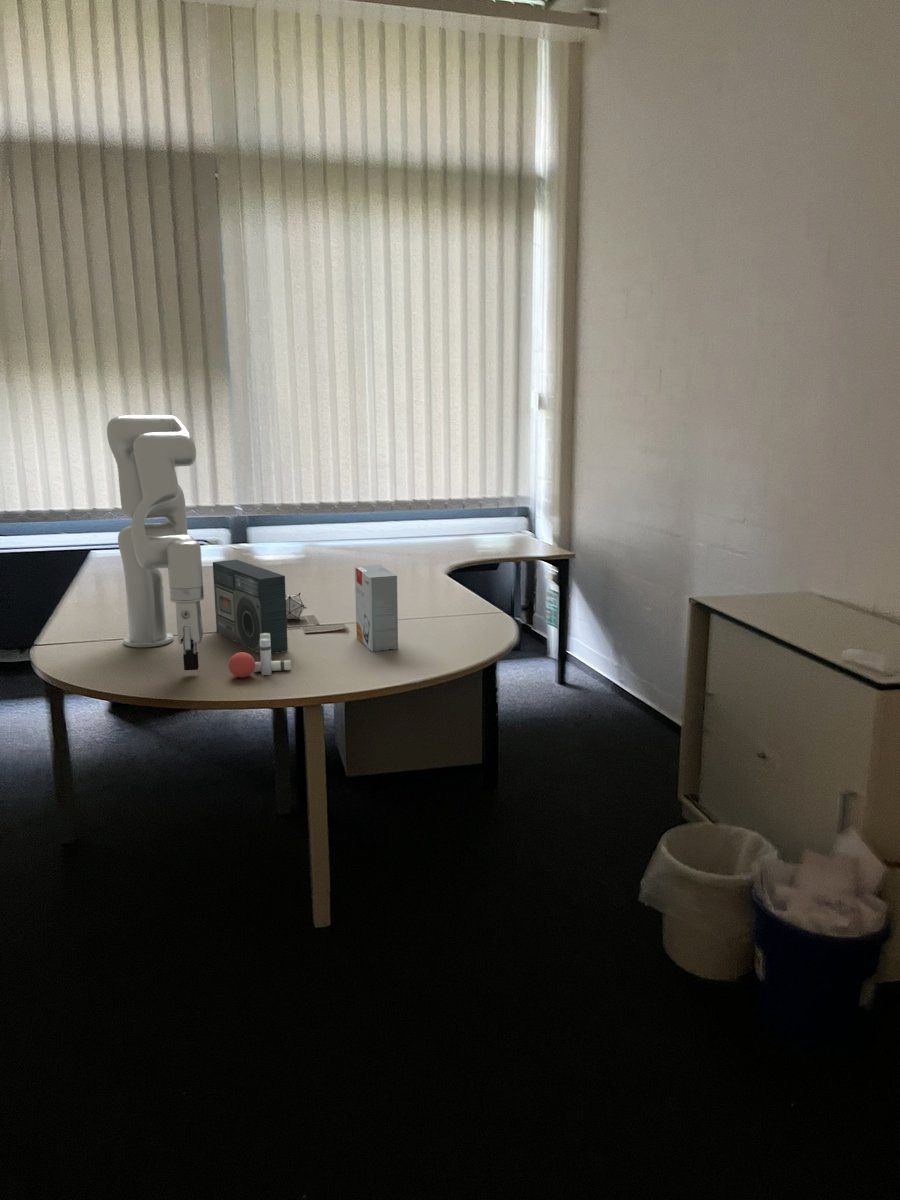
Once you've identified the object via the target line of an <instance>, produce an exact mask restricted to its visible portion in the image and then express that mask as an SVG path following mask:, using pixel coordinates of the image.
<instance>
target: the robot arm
mask: <svg viewBox="0 0 900 1200" xmlns="http://www.w3.org/2000/svg"><path fill="white" fill-rule="evenodd" d="M106 437H107V441H108V445H109V448H110V451H111V453H112V455H113V457H114V460H115V462H116V466H117V477H118V486H119V497H120V498H119V499H120V505H121V511H122V513H123V515H124V516H125V517H126V518H127V519H131V523H130V524H131V525H128V526H126V527H123V528H122V529H121V530H120V531H119V533H118V536H117V546H118V549H119V552H120V557H121V562H122V566H123V567H122V568H123V573H124V586H125V596H126V608H127V609H126V610H127V621H128V622H127V623H128V636H126V637H124V638H123V644H124V645H125V646H127V647H130V648H142V649H143V648H153V647H155V648H156V647H160V646H164V645H167V644H170V643H171V642H173V641H174V635H173V633H171V632H167V631H168V630H167V618H166V617H167V616H166V614H167V613H166V605H165V603H166V602H165V590H164V589H165V587H164V578H163V575H162V573H161V571H160V569H167V573H168V574H167V576H168V586H169V601H170V602H171V603H175V616H176V629H177V639H178V640H177V641H178V643H179V645H182V648H183V649H182V650H183V654H182V655H183V669H184V671H198V670H199V667H200V665H199V664H200V663H199V652H198V644H200V643H201V642H202V639H203V636H204V630H203V629H204V628H203V620H202V607H201V601H204V599H205V597H204V596H205V595H204V583H203V582H204V581H203V566H202V562H203V561H202V550H201V549H202V548H201V544H200V542H199V541H198V540H195V538H194V537H193V536H191V535H190V534H189V533H188V523H187V521H188V520H187V508H186V498H185V494H184V492H183V488H182V487H181V485H179V482H178V478H177V473H176V468H175V467H177V468H178V467H189V466H192V465H194V463H195V461H196V458H197V449H196V445H195V441H194V439H193V436H192V435H191V433H190V432H189V430H188V429H187V428H186V427H185V425H184V423H182V421H181V420H180V419H179V418H177V416H175V415H169V414H130V415H129V414H128V415H120V416H115V417H113V418H111V419H110V420H109V421H108V423H107V425H106ZM163 518H164V519H165V521H166V522H156V523H153V522H152V523H151V522H150V523H146V520H151V519H163Z"/></svg>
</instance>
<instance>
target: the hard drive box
mask: <svg viewBox="0 0 900 1200" xmlns="http://www.w3.org/2000/svg"><path fill="white" fill-rule="evenodd" d="M354 582H355V583H354V586H355V588H354V590H355V591H354V592H355V593H354V594H355V625H356V626H355V627H356V629H355V631H356V637H357V638H358V640H359V641H360V642H361V643H362V644H363V645H364V646H365V647H366V648H367V649H368V648H369V649H368V650H369V651H370V650H371V651H375V652H381V651H380V650H384V651H390V650H389V649H393V650H398V649H399V632H398V631H399V628H398V627H399V626H398V625H399V624H398V623H399V622H398V619H399V617H398V616H399V615H398V576H397V574H395V573H394V572H392V571H390V570H389V569H388V568H386V567H384V566H382V565H381V564H371V565H357V566H354ZM371 651H370V652H371Z"/></svg>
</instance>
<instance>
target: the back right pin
mask: <svg viewBox="0 0 900 1200" xmlns="http://www.w3.org/2000/svg"><path fill="white" fill-rule="evenodd" d="M271 661H272V654H271V645H270V639H268V638H264V639H260V662H261V673H260V674H261V676H264V675H269V676H271V675H272V674H273V673H272V672H273V671H271Z"/></svg>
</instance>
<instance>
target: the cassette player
mask: <svg viewBox="0 0 900 1200" xmlns="http://www.w3.org/2000/svg"><path fill="white" fill-rule="evenodd" d="M212 573H213V574H212V575H213V576H212V577H213V591H214V593H213V594H214V606H215V608H214V609H215V610H214V611H215V626H216V633H217V634H220V635H222V636H223V637H226V638H227V637H228V638H227V639H229V638H230V640H231V639H232V641H233V640H235V641H237V642H239V643H241V644H243V645H245V646H247V647H249V648H251V649H253V650H254V651H253V650H252V651H253V652H255V651H257V652H258V653H257V652H256V653H257V654H259V653H260V634H262V633H270V640H271V655H273V654H272V653H274V654H277V653H276V652H280V653H283V652H282V651H285V652H288V651H287V650H289V647H288V646H289V645H288V644H289V642H288V623H287V620H288V619H287V618H286V595H287V594H286V576H285V575H284V574H280V573H277V572H274V571H271V570H268V569H265V568H262V567H259V566H256V565H254V564H251V563H247V562H244V561H242V560H239V559H230V560H229V559H228V560H220V561H213V562H212ZM235 641H234V642H235ZM237 642H236V643H237ZM239 643H238V644H239ZM241 644H240V645H241ZM243 645H242V646H243ZM245 646H244V647H245ZM247 647H246V648H247ZM249 648H248V649H249ZM251 649H250V650H251Z"/></svg>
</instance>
